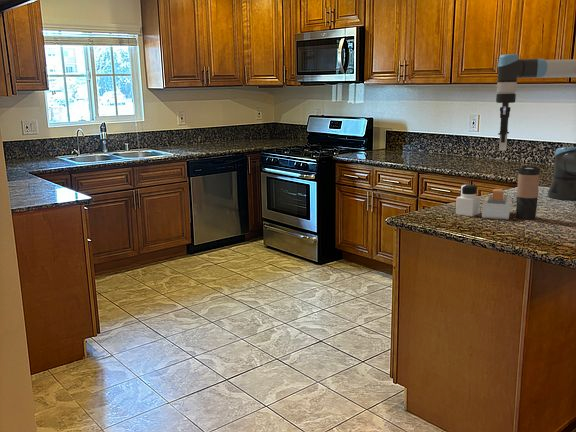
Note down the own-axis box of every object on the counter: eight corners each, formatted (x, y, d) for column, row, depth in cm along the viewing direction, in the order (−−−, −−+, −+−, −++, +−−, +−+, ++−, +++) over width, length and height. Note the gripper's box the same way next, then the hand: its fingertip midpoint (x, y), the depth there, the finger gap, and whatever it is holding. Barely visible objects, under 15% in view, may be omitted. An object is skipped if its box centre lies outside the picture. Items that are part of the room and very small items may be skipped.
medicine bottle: (479, 213, 232) (481, 184, 229) (472, 216, 227) (473, 187, 224) (463, 211, 237) (464, 183, 234) (455, 214, 232) (456, 185, 229)
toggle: (503, 198, 231) (503, 189, 230) (502, 199, 229) (503, 190, 228) (492, 197, 233) (493, 188, 232) (492, 199, 230) (492, 189, 229)
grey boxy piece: (510, 212, 234) (511, 194, 232) (508, 219, 221) (509, 201, 220) (484, 210, 238) (485, 193, 236) (481, 217, 225) (482, 199, 223)
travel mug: (538, 220, 219) (542, 169, 214) (517, 219, 220) (520, 168, 216) (533, 215, 226) (537, 166, 222) (513, 215, 228) (517, 166, 223)
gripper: (497, 92, 242) (494, 147, 248) (495, 93, 228) (491, 151, 233) (516, 92, 239) (512, 147, 245) (515, 93, 225) (511, 152, 230)
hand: (502, 149), depth 239 cm, fingers open, 3 cm apart
